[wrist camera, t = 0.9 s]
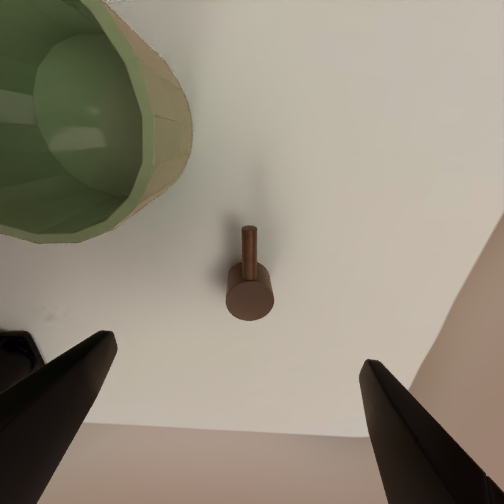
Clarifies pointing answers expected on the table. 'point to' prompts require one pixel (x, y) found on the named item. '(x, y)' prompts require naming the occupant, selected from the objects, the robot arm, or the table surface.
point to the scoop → (249, 282)
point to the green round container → (82, 121)
